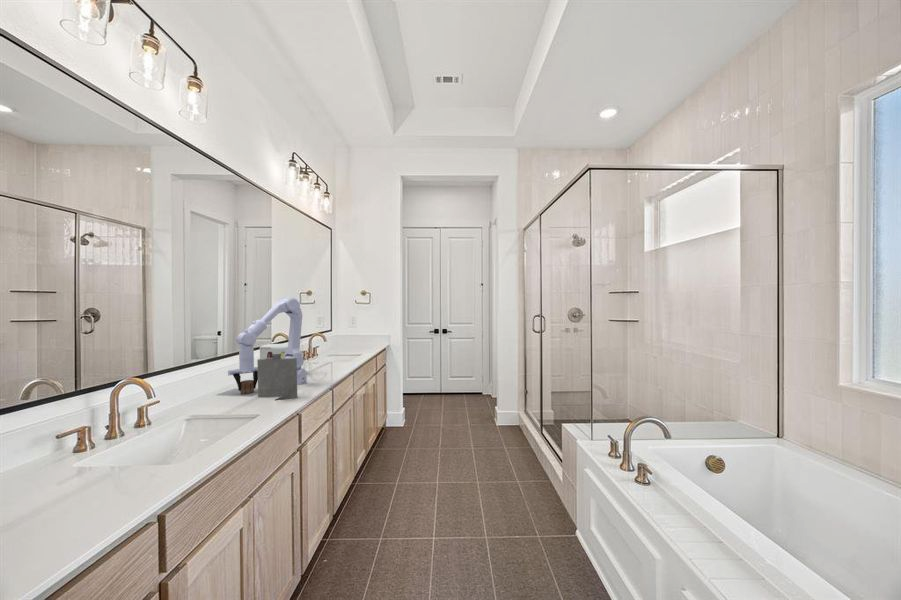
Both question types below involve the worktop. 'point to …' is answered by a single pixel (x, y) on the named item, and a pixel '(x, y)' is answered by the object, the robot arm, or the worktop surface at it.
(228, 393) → the board
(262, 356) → the supplement box
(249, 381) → the cap
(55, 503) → the worktop surface
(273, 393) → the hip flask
